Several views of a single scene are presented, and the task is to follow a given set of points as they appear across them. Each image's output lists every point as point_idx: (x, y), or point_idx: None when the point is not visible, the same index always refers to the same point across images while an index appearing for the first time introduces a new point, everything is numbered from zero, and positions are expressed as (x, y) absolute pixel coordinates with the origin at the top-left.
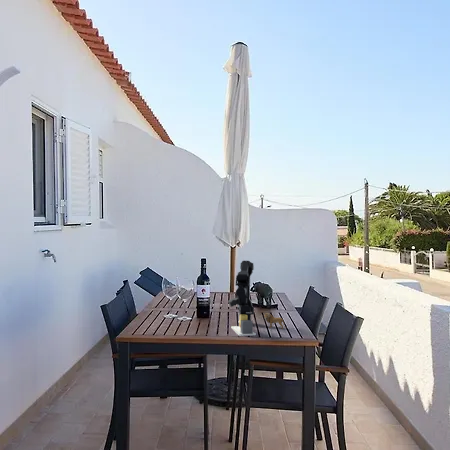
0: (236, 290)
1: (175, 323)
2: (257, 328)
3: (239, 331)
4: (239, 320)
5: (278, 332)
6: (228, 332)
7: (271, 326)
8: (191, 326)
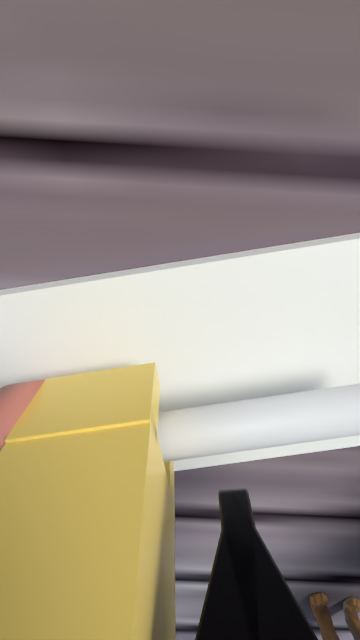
0: None
1: None
2: (295, 515)
3: (11, 338)
4: (142, 446)
5: None
6: (45, 159)
7: (315, 616)
8: None
